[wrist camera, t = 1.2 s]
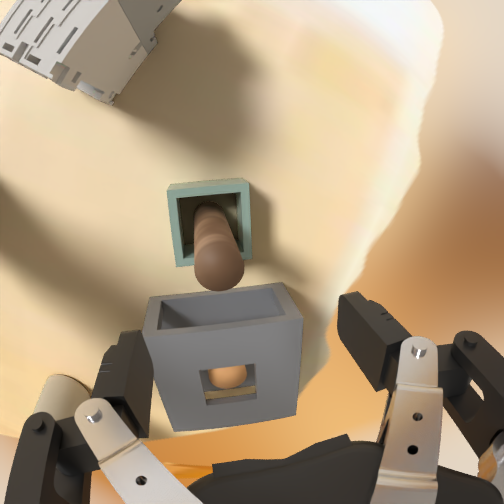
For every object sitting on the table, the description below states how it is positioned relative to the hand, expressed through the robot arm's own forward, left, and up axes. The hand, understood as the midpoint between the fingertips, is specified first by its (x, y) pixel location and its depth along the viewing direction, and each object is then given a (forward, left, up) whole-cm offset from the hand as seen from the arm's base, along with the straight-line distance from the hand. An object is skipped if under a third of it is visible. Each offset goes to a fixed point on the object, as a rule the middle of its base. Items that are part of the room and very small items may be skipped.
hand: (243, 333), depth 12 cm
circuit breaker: (-8, +20, -22) cm, 31 cm away
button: (0, -18, -19) cm, 26 cm away
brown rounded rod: (0, -1, -22) cm, 22 cm away
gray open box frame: (0, -18, -22) cm, 28 cm away
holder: (0, -1, -22) cm, 22 cm away
